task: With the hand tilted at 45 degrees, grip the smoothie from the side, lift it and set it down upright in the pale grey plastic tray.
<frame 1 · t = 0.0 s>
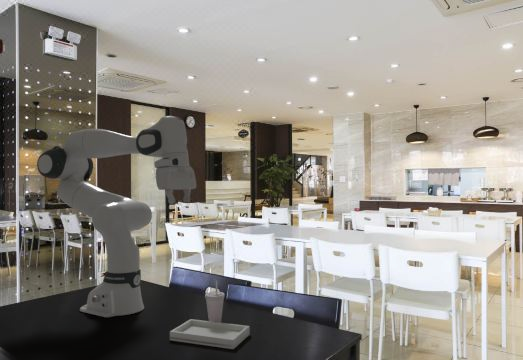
hand: (179, 202, 143), 39 cm above the table, tool pointing down, fingers open, 8 cm apart
smoothie: (214, 324, 134), on the table
tray: (210, 337, 123), on the table
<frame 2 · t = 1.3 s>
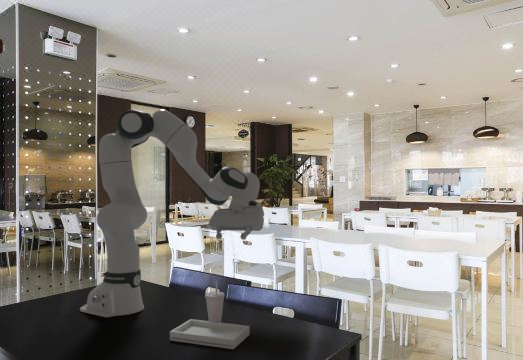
hand: (230, 238, 146), 26 cm above the table, tool tilted 45°, fingers open, 8 cm apart
nothing on the table moved.
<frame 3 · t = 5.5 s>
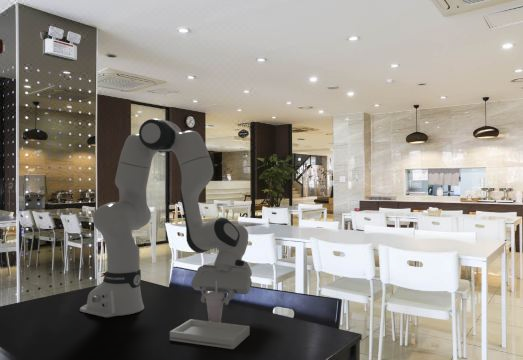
hand: (214, 302, 134), 7 cm above the table, tool tilted 45°, fingers closed on smoothie, 6 cm apart
smoothie: (214, 324, 134), on the table, touching gripper
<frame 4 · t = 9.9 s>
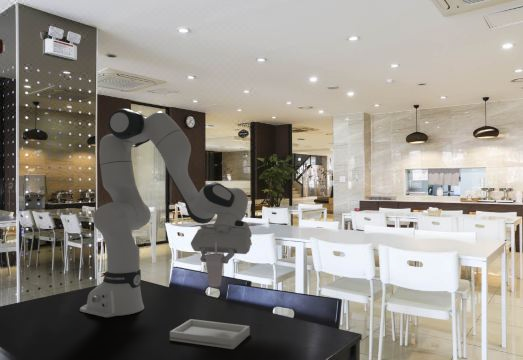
hand: (213, 261, 133), 20 cm above the table, tool tilted 45°, fingers closed on smoothie, 6 cm apart
smoothie: (214, 285, 134), point 12 cm above the table, touching gripper
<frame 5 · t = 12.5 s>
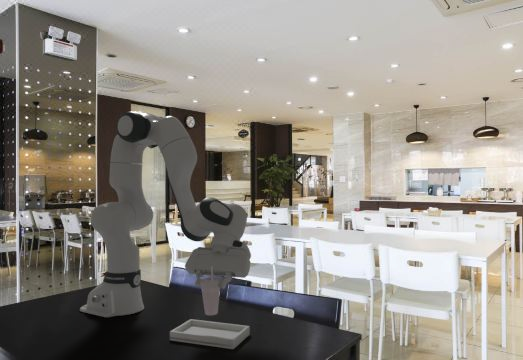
hand: (209, 286, 122), 15 cm above the table, tool tilted 45°, fingers closed on smoothie, 6 cm apart
smoothie: (211, 313, 123), point 7 cm above the table, touching gripper
when the fingers open (9 cm above the table, at t = 14.3 s): smoothie stays where it is, resting on tray.
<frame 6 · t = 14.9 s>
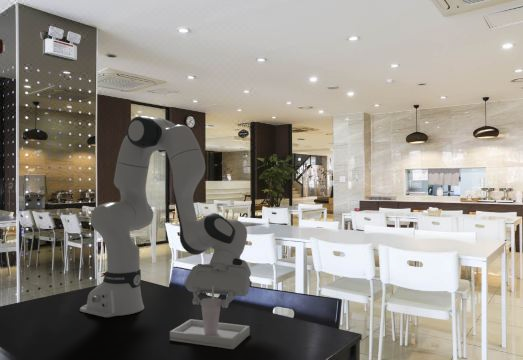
hand: (209, 305, 122), 10 cm above the table, tool tilted 45°, fingers open, 8 cm apart
smoothie: (210, 333, 123), point 1 cm above the table, touching tray
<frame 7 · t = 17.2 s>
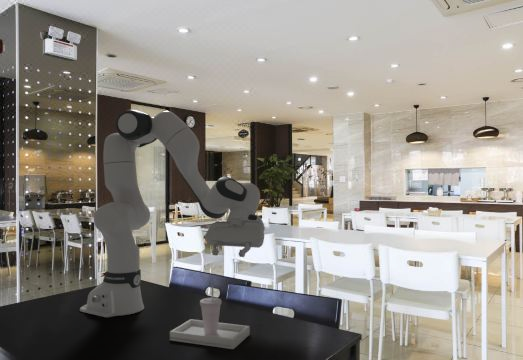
hand: (227, 255, 134), 22 cm above the table, tool tilted 45°, fingers open, 8 cm apart
nothing on the table moved.
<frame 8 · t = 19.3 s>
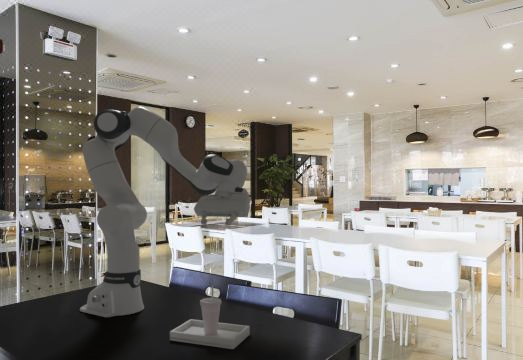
hand: (215, 224, 144), 31 cm above the table, tool tilted 45°, fingers open, 8 cm apart
nothing on the table moved.
at the end: smoothie inside the target area on the tray (0.5 cm from its centre), point 0.8 cm above the tray's base; smoothie tilted 0°; the gripper is holding nothing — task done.
